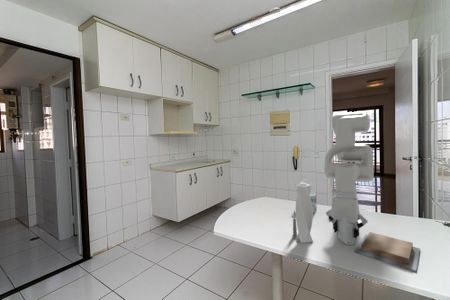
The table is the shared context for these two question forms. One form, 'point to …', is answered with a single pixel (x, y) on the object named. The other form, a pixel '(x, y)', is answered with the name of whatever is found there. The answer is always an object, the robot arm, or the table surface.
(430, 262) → the table surface
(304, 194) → the skyscraper
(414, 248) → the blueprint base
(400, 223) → the table surface
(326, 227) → the table surface
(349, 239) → the skincare box
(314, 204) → the light bulb box
